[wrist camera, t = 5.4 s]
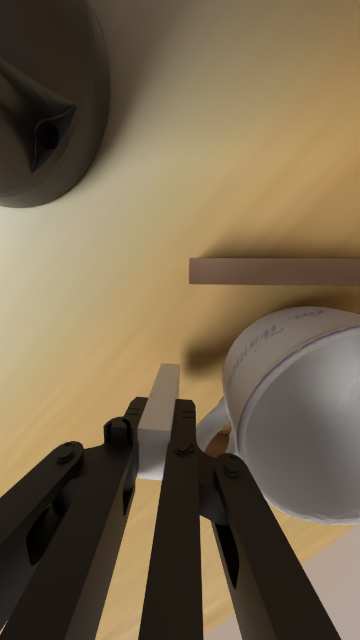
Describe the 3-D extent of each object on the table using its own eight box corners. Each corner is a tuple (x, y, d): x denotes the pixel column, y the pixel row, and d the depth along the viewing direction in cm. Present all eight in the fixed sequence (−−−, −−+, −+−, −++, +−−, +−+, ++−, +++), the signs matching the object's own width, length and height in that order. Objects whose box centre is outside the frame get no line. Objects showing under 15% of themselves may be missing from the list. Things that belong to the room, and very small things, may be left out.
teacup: (339, 281, 14) (523, 285, 6) (357, 404, 16) (511, 524, 8) (164, 331, 16) (136, 384, 8) (200, 436, 18) (205, 559, 10)
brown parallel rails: (190, 262, 14) (188, 255, 10) (366, 263, 14) (462, 255, 9) (187, 445, 18) (184, 506, 13) (324, 454, 17) (376, 523, 12)
